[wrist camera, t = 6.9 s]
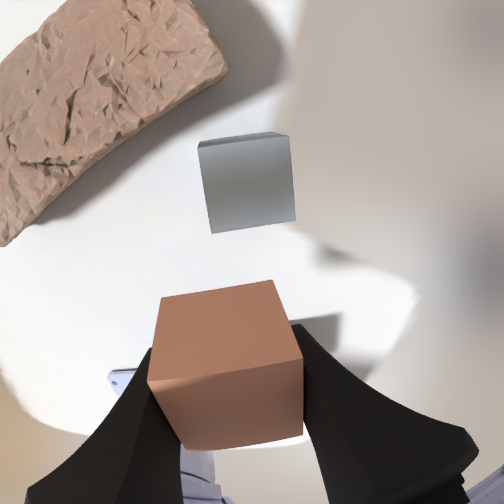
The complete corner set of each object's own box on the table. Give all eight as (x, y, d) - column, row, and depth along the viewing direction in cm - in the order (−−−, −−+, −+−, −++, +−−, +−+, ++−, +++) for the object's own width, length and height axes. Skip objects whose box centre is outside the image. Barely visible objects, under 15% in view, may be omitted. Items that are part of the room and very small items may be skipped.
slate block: (277, 198, 18) (295, 220, 15) (210, 209, 18) (211, 233, 14) (270, 132, 16) (288, 136, 13) (199, 141, 16) (197, 148, 12)
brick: (25, 234, 17) (-10, 264, 12) (-29, 142, 13) (-72, 154, 9) (231, 79, 15) (241, 65, 11) (161, -23, 12) (150, -60, 7)
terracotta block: (279, 358, 13) (302, 434, 9) (187, 373, 12) (187, 452, 9) (272, 279, 11) (303, 357, 7) (161, 297, 11) (146, 381, 7)
